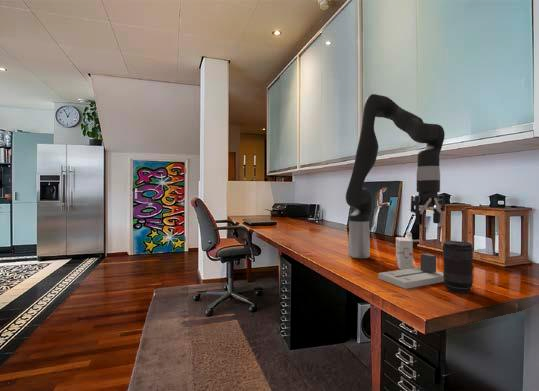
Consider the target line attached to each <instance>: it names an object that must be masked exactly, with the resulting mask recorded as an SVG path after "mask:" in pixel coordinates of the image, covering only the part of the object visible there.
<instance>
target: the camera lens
mask: <svg viewBox="0 0 539 391" xmlns="http://www.w3.org/2000/svg"><path fill="white" fill-rule="evenodd" d="M472 244H473V243H471V242H466V241H457V240H455V241H454V240H447V241H443V242H442V259H443V260H442V262H443V269H442V270H443V271H442V273H443V277H444V282H443V283H444V286H445V289H446V290H448V291H450V292H453V293H458V294H469V293H471V288H472V287H473V282H474V274H473V270H474V265H473V259H474V250H473V249H474V248H473V245H472Z"/></svg>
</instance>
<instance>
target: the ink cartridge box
mask: <svg viewBox="0 0 539 391" xmlns="http://www.w3.org/2000/svg"><path fill="white" fill-rule="evenodd" d="M413 245H414V243H413V234H412V232H410V231H408V230H406V237H395V265H396V267H398V268H399V270H403V269H410V268H414V262H413V261H414V260H413V258H414V257H413V256H414V255H413V254H414V253H413V252H414V249H413V247H414V246H413Z"/></svg>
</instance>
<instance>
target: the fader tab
mask: <svg viewBox="0 0 539 391" xmlns="http://www.w3.org/2000/svg"><path fill="white" fill-rule="evenodd" d="M420 267H421V271H425V272H428V273H434V272H436V271H437V255H436V254H432V253H431V254H430V253H427V252H426V253H420Z"/></svg>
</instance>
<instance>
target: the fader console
mask: <svg viewBox="0 0 539 391" xmlns="http://www.w3.org/2000/svg"><path fill="white" fill-rule="evenodd" d="M378 279H379V280H381V281H384V282H387V283H389V284H392V285H394V286H397V287H399V288H401V289H412V288H418V287H423V286H428V285H434V284H439V283H444V277H443V271H442V272H441V271H439V270H436V272H434V273H428V272H425V271H421V266H419V267H413V268H410V269H403V270H402V269H397V270H392V271H391V270H389V271H383V272H378Z"/></svg>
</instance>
